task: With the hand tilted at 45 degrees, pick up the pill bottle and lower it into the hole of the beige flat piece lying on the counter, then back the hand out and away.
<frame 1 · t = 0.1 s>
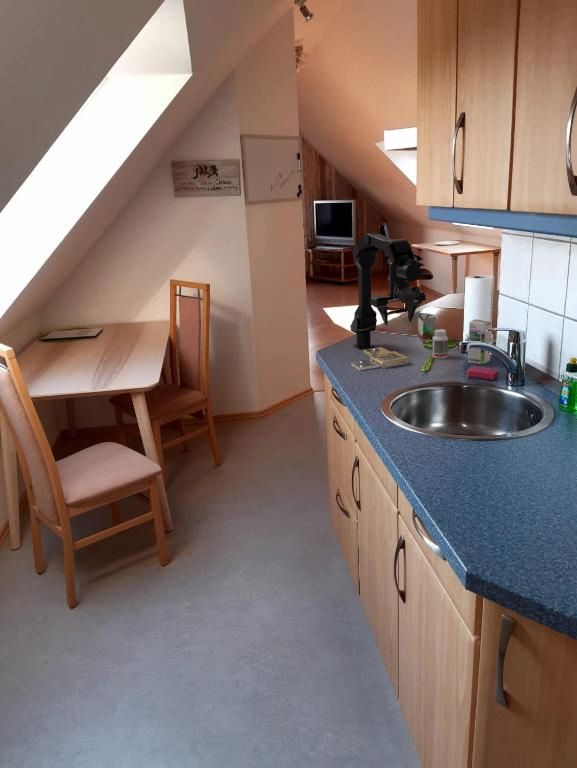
hand: (398, 323, 210), 15 cm above the counter, tool pointing down, fingers open, 9 cm apart
pill bottle: (439, 357, 219), on the counter
syrup box: (479, 362, 211), on the counter
beige flat piece: (388, 362, 217), on the counter
food container: (428, 340, 243), on the counter
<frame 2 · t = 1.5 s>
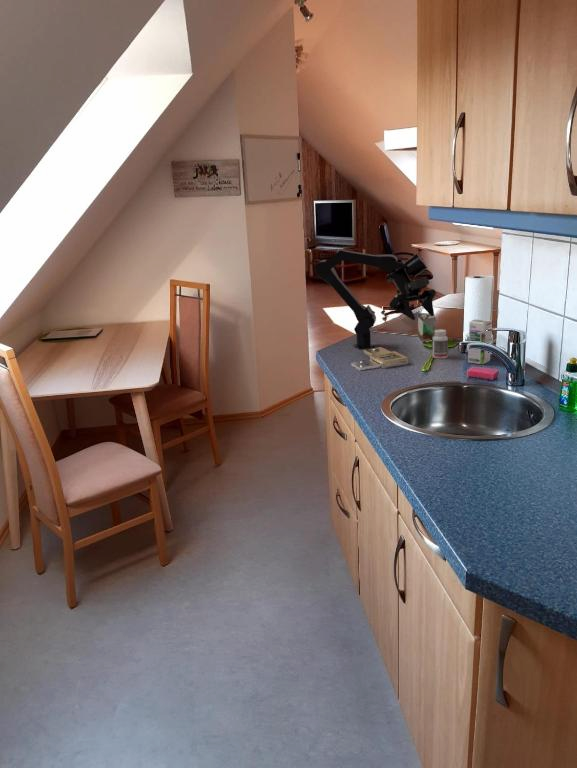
hand: (423, 317, 222), 13 cm above the counter, tool tilted 45°, fingers open, 9 cm apart
nothing on the counter moved.
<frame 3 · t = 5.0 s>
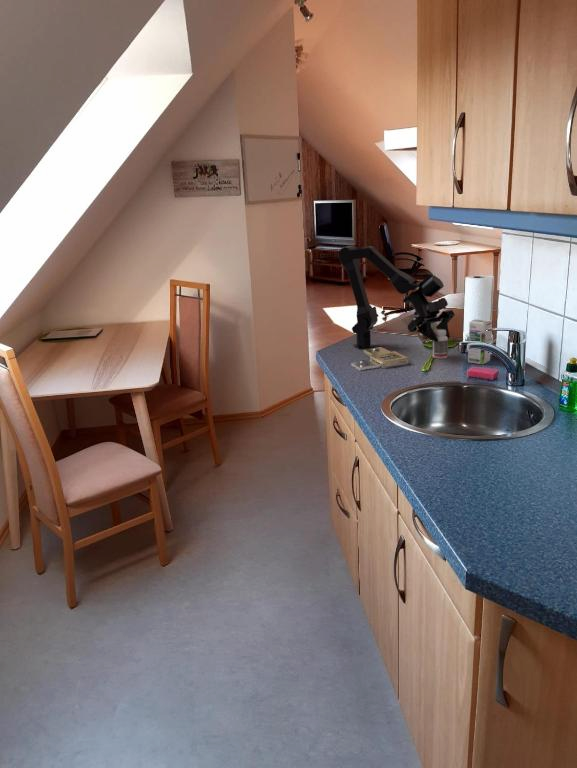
hand: (443, 339, 216), 7 cm above the counter, tool tilted 45°, fingers closed on pill bottle, 5 cm apart
pill bottle: (439, 357, 219), on the counter, touching gripper
everything else where it was.
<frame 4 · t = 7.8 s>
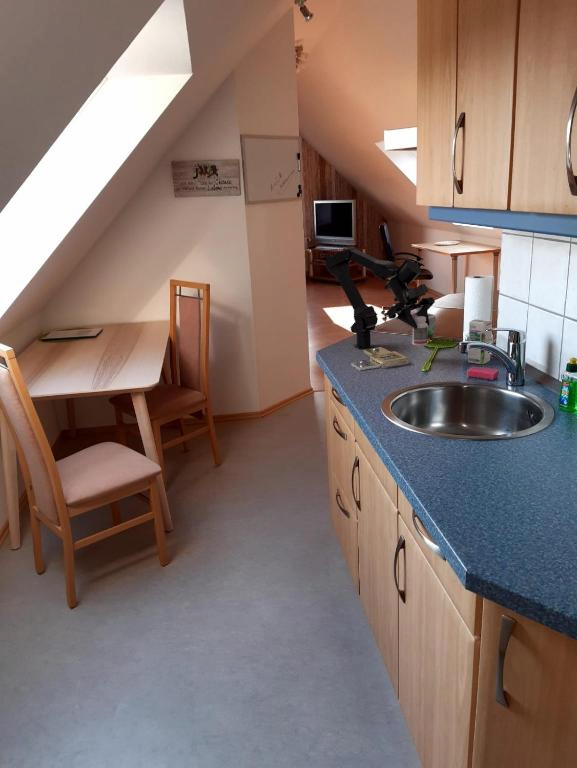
hand: (422, 326, 214), 12 cm above the counter, tool tilted 45°, fingers closed on pill bottle, 5 cm apart
pill bottle: (419, 344, 217), point 5 cm above the counter, touching gripper
everything else where it was.
when the fingers open (8 cm above the counter, at t = 11.1 s): pill bottle stays where it is, resting in beige flat piece.
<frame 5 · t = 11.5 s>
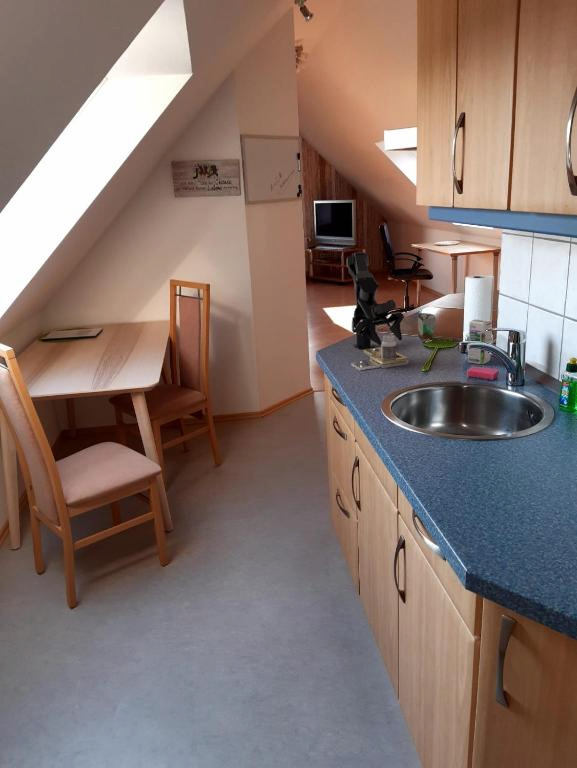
hand: (391, 342, 213), 8 cm above the counter, tool tilted 45°, fingers open, 9 cm apart
pill bottle: (388, 363, 217), resting in beige flat piece
everything else where it was.
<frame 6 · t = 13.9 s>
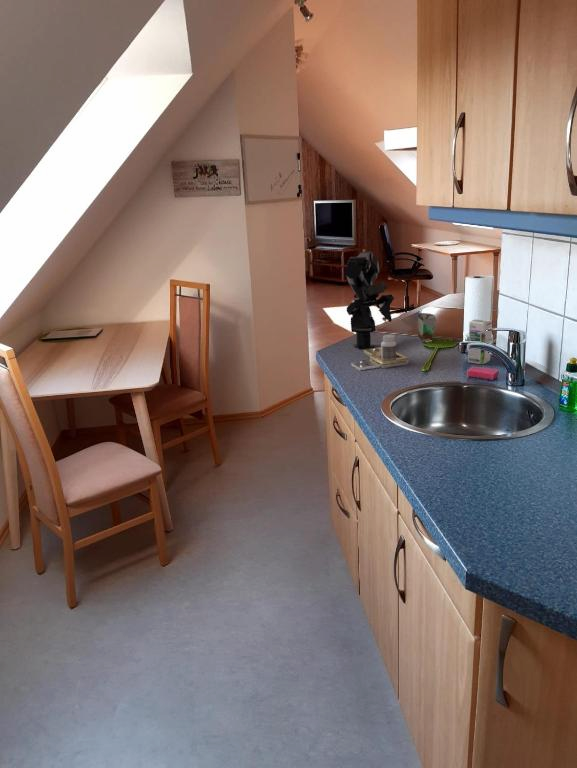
hand: (381, 323, 216), 13 cm above the counter, tool tilted 45°, fingers open, 9 cm apart
nothing on the counter moved.
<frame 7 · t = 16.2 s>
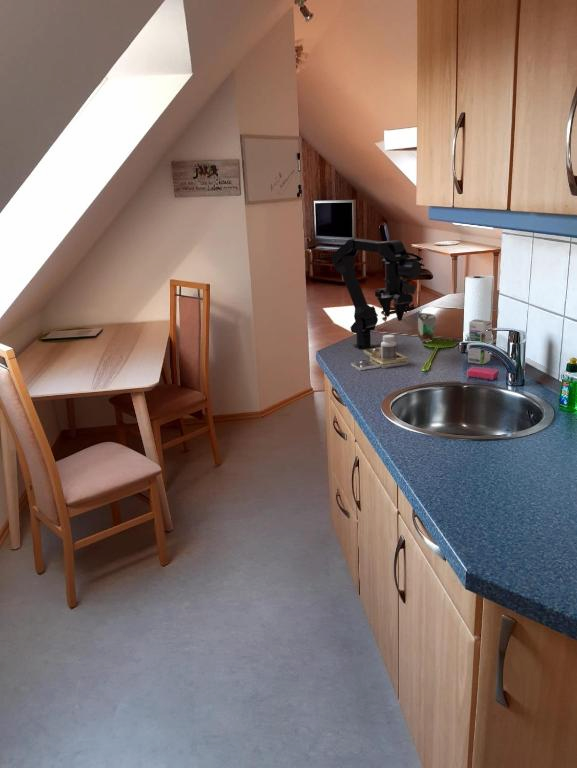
hand: (393, 318, 225), 13 cm above the counter, tool pointing down, fingers open, 9 cm apart
nothing on the counter moved.
at the end: pill bottle 0.1 cm off-centre on the beige flat piece, point 0.0 cm above the beige flat piece's base; pill bottle tilted 0°; the gripper is holding nothing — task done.
